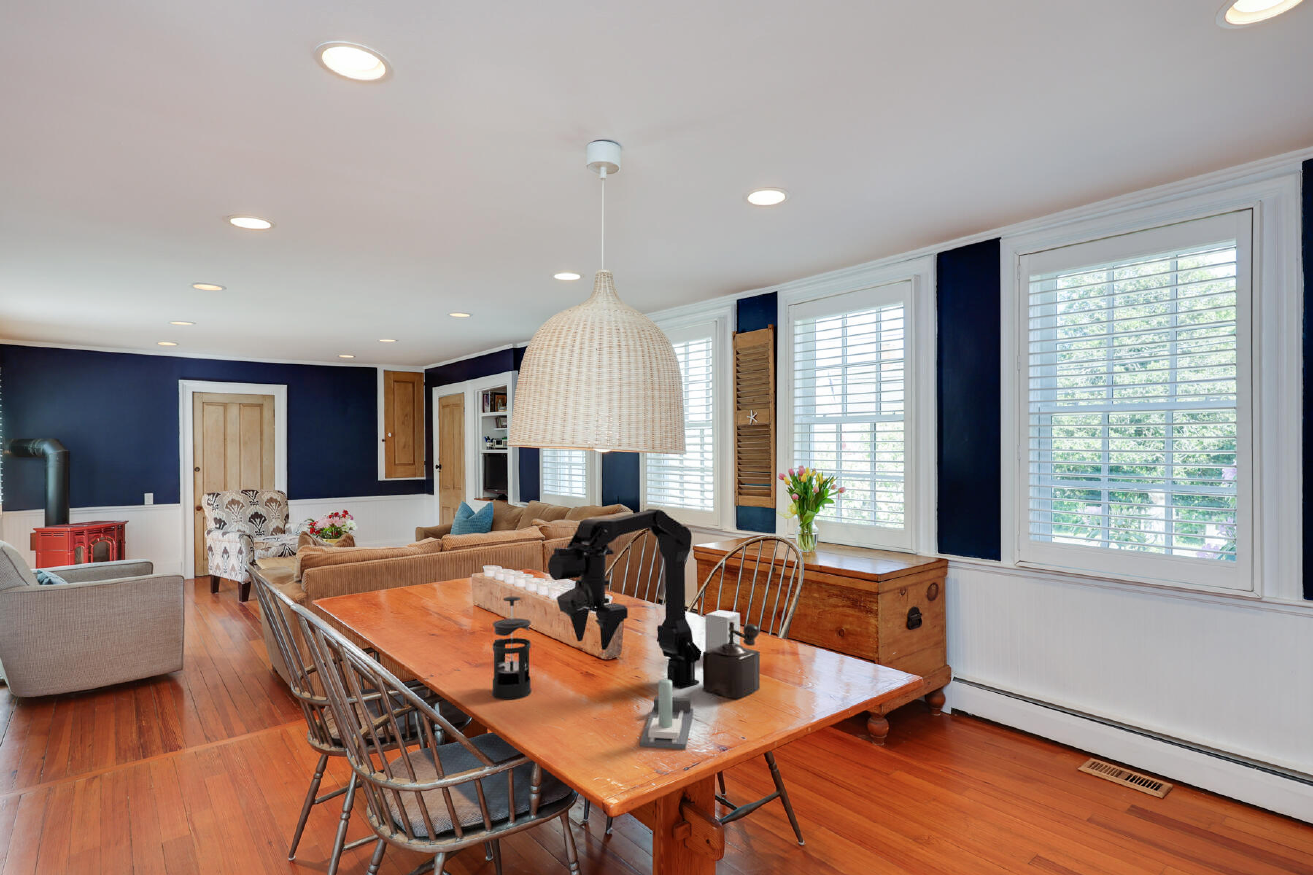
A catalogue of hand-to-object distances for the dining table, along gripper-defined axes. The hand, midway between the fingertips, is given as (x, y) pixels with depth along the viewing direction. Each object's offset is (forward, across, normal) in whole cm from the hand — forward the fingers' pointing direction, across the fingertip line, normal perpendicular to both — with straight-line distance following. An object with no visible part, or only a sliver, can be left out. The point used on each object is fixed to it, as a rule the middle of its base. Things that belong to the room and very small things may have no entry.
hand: (591, 645), depth 156 cm
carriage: (+13, +22, +2) cm, 26 cm away
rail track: (+14, +19, +6) cm, 25 cm away
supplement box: (+14, -8, +51) cm, 54 cm away
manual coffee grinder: (+14, +14, +34) cm, 39 cm away
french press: (+15, -23, -7) cm, 28 cm away
